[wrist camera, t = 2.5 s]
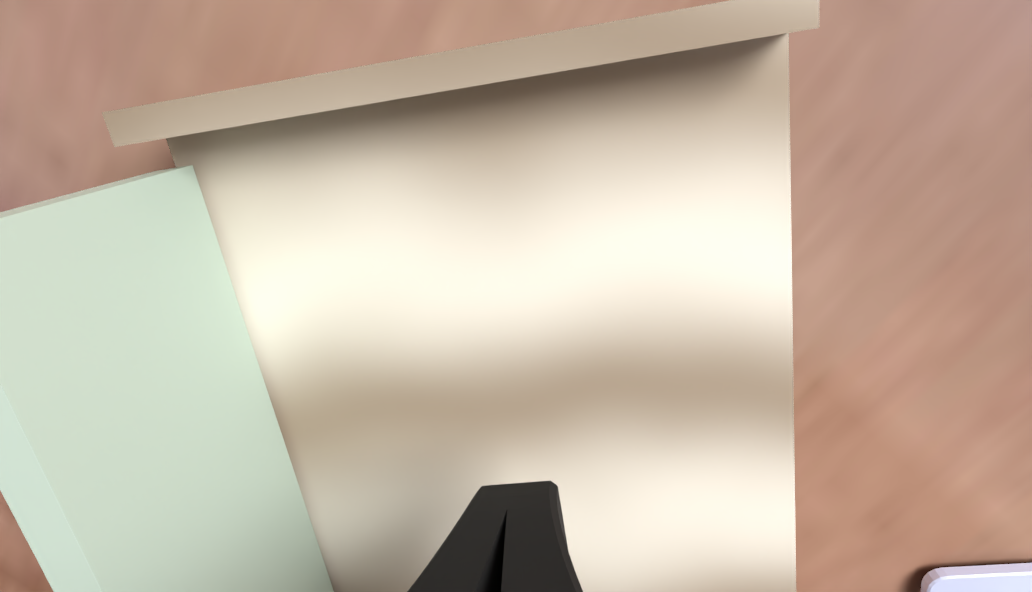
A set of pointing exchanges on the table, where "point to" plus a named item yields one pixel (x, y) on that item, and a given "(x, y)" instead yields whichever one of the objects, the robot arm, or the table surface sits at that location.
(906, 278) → the table surface
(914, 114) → the table surface
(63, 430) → the panel
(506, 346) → the cart bed
